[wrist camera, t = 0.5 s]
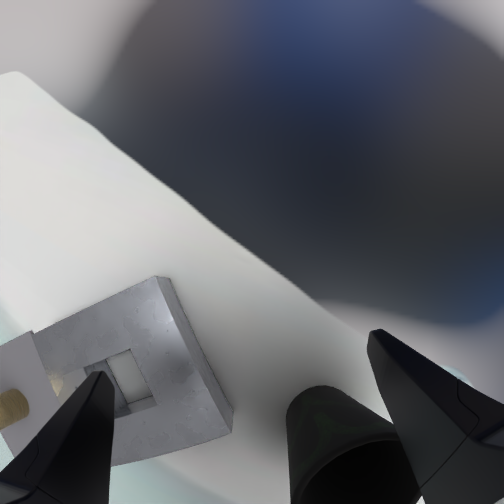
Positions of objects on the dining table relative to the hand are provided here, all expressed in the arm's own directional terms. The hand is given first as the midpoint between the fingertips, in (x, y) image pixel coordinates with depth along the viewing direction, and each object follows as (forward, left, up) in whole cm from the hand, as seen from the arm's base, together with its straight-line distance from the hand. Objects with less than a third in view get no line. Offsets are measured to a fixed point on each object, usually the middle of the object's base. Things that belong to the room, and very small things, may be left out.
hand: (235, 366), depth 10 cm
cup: (-10, -2, -15) cm, 18 cm away
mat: (-1, +25, -15) cm, 29 cm away
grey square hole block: (-1, +10, -15) cm, 18 cm away
